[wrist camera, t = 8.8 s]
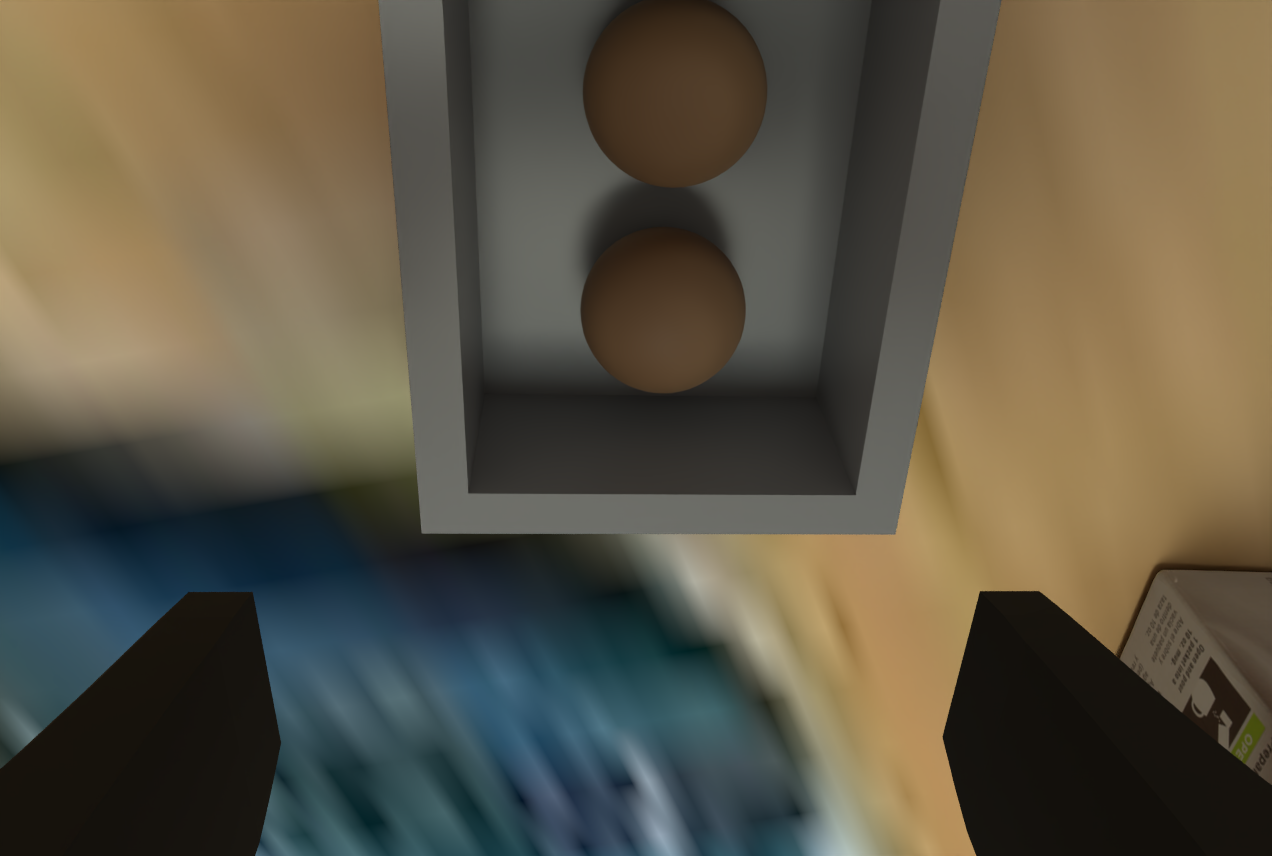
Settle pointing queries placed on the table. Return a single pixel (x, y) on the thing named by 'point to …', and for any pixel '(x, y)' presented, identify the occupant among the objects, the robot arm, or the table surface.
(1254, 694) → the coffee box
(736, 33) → the bead
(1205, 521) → the table surface
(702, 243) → the bead
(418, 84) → the tub
